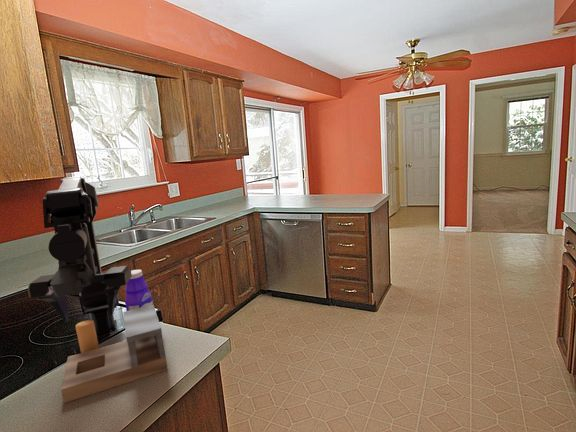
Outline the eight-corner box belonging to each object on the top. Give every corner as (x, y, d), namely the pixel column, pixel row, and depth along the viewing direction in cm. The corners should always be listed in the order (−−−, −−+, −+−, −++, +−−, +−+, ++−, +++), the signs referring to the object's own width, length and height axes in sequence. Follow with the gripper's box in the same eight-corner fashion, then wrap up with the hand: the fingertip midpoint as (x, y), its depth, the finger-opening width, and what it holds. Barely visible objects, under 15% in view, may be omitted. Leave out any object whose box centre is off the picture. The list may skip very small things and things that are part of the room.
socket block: (70, 367, 84) (62, 327, 83) (159, 341, 93) (153, 304, 91) (63, 404, 71) (53, 357, 69) (167, 370, 80) (161, 328, 78)
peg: (82, 352, 91) (76, 322, 90) (99, 347, 93) (94, 318, 91) (81, 359, 88) (74, 329, 86) (99, 354, 89) (93, 324, 88)
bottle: (145, 338, 95) (135, 276, 92) (126, 338, 96) (115, 276, 93) (160, 325, 102) (151, 267, 99) (142, 325, 103) (133, 267, 100)
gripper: (3, 267, 66) (22, 344, 69) (111, 254, 69) (124, 329, 72) (34, 250, 77) (49, 317, 80) (126, 240, 80) (137, 305, 83)
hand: (89, 317), depth 78 cm, fingers open, 9 cm apart
